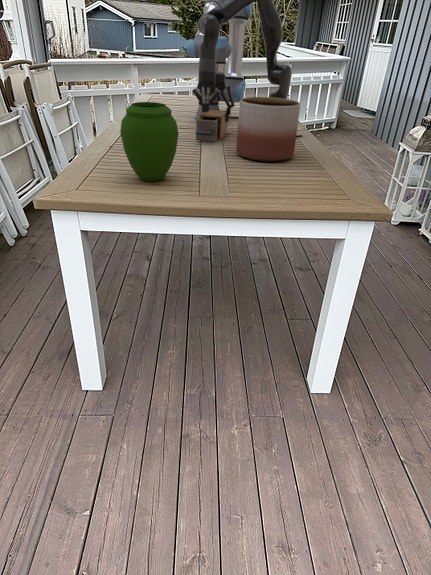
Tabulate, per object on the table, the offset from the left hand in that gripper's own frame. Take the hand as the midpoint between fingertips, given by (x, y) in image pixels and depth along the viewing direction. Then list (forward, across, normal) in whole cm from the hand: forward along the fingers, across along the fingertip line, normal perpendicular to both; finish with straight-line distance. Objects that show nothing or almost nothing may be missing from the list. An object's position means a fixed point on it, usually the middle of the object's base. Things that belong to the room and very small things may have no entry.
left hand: (215, 120), depth 212 cm
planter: (+6, +30, -36) cm, 47 cm away
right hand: (-8, 0, -24) cm, 26 cm away
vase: (+7, -6, -84) cm, 84 cm away
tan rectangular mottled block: (+6, 0, -5) cm, 8 cm away
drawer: (+6, 0, -17) cm, 18 cm away
